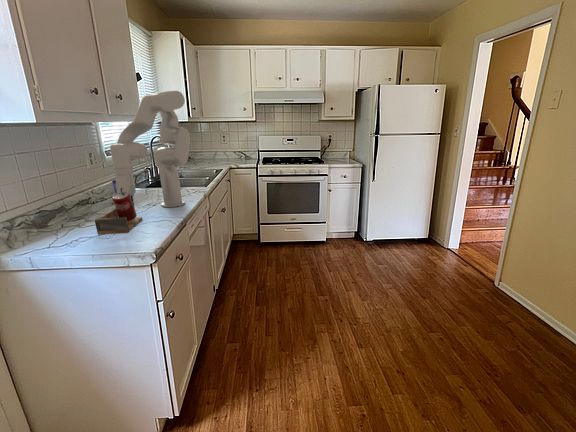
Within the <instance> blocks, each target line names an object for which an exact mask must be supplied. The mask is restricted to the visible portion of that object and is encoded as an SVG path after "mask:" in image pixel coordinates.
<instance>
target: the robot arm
mask: <svg viewBox="0 0 576 432" xmlns="http://www.w3.org/2000/svg"><path fill="white" fill-rule="evenodd" d="M184 96H185V95H183V93H182V92H181V91H179V90H165V91H158V92H155V93H153V94H146V95H143V96H142V97H141V99H140V102H139V104H138V107H137V110H136V113H135V116H134V119H133V120H132V121H131V122H130V123H129V124H128V125H127V126H126V127H125V128H124V129H123V130H122V131H121V133H120V134H119V137H118V140H117V142H116V143H113V144H110V146H109V147H110V148H109V149H110V150H109V151H110V153H111V154H110V155H111V161H112V166H113V169H114V170H113V171H114V176H115V179H116V188H117V193H119V192H120V193H121V192H128V193H129V194H130V197H131V200H132V202H133V205H134V208H135V203H134V196H135V194H136V192H137V191H136V185H135V179H134V176H133V175H134V168H133V163H132V159H135V160H136V159H137V160H139V159H143V158H145V157H146V156H147V154H148V148H147V146H146V145H145V144H144V143H141V142H137V141H135V140H136V139H137V138H138V137H140V136H141V135H144V134H145V133H147V132H149V131H151V129H153V126H154V123H155V120H156V117H157V115H158V114H160V117H161V123H160V133H159V140H160V142H161V144H162V145H165V147H164V146H163V147H158V149H156V150H155V152H154V158H155V162H156V165H157V167H158V172H159V177H160V178H159V179H160V185H161V190H162V198H163V202H162V203H160V204H161V207H163V208H175V207H181V206H183V205H185V204H186V201H185V200H183V199H182V198H183V197H182V190H181V184H180V177H179V171H178V169H177V167H176V166H179V167H180V166H185V165H186V164H187V162H188V160H189V154H190V146H191V145H190V144H191V136H190V135H191V134H190V132H189V131H188V129H187V128H185V127H182V126H179V118H178V115H177V114H176V112H175V110H178V109H181V108H183V106H184V105H185V101H186V99H185V97H184ZM134 141H135V142H134ZM166 146H169V147H166ZM170 146H171V147H170Z"/></svg>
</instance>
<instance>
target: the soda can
mask: <svg viewBox="0 0 576 432" xmlns="http://www.w3.org/2000/svg"><path fill="white" fill-rule="evenodd" d="M111 201H112V203H113V206H114V208H115V209H116V211H117V214H118V217H119V218H120V217H127V222H128V221H132V220H134V219H135V218H136V217H138V216H137V213H136V209H135V208H134V207H135V204H134V205H133V202H134V201H132V200H131V197H130V194H129V193H128V192H121V193H120V192H119V193H116V194H115V193H114V194H112V197H111Z"/></svg>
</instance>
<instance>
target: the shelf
mask: <svg viewBox="0 0 576 432" xmlns="http://www.w3.org/2000/svg"><path fill="white" fill-rule="evenodd" d="M142 221H143V217H142V216H139V217H138V216H136V218H135V219H134V220H132V221H128V222H127V217H120V218H119V216H118V214H117V211H116V209H115V207H113V208H112V209H110V210H109V211H106V212H105V213H104V214H102V215H100V216H98V217H96V218H95V219H94V224H95V227H96V228H95V229H96V233H97V235H98V236H100V235H101V236H102V235H116V234H128V233H130V232H131V231H132V230H133V229H134V228H135V227H136V226H137V225H138V224H140V223H141V222H142Z"/></svg>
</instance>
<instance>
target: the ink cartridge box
mask: <svg viewBox="0 0 576 432" xmlns="http://www.w3.org/2000/svg"><path fill="white" fill-rule="evenodd" d="M111 182H112V186H113V190H114V194H116V193H117V188H116V178H115V179H113V180H111Z"/></svg>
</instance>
